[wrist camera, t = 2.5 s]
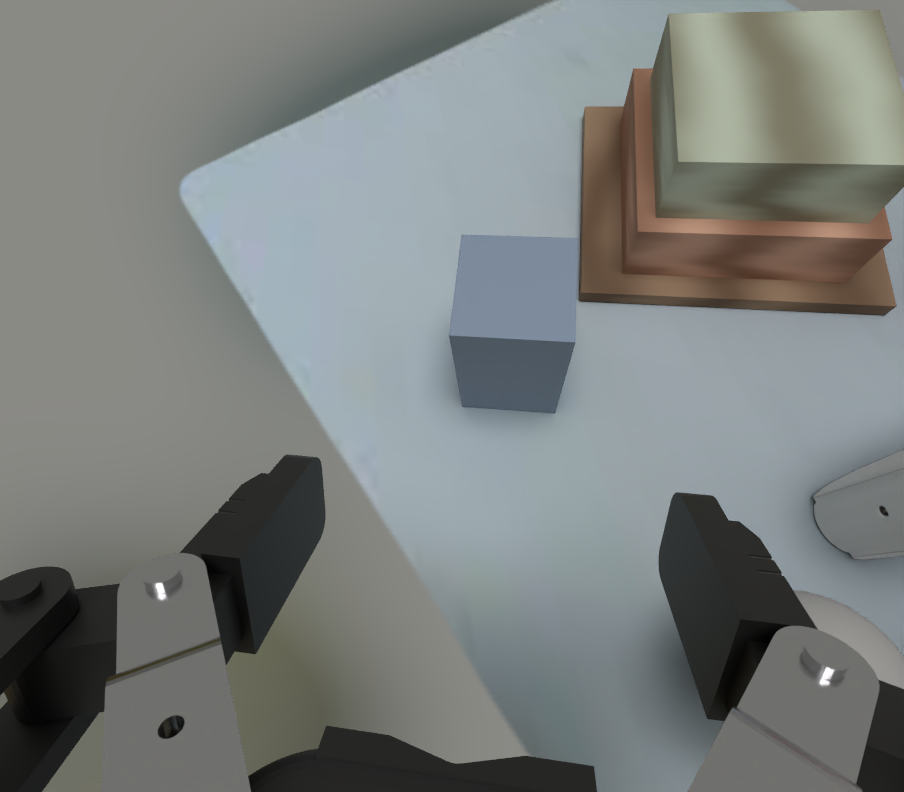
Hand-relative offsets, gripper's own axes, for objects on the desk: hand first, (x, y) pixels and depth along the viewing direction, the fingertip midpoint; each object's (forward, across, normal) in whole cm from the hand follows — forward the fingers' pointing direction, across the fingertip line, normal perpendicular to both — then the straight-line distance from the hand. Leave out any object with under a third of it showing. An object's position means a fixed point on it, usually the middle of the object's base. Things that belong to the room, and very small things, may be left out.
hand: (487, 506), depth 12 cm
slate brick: (+20, 0, +4) cm, 21 cm away
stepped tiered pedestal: (+29, -13, -5) cm, 33 cm away
